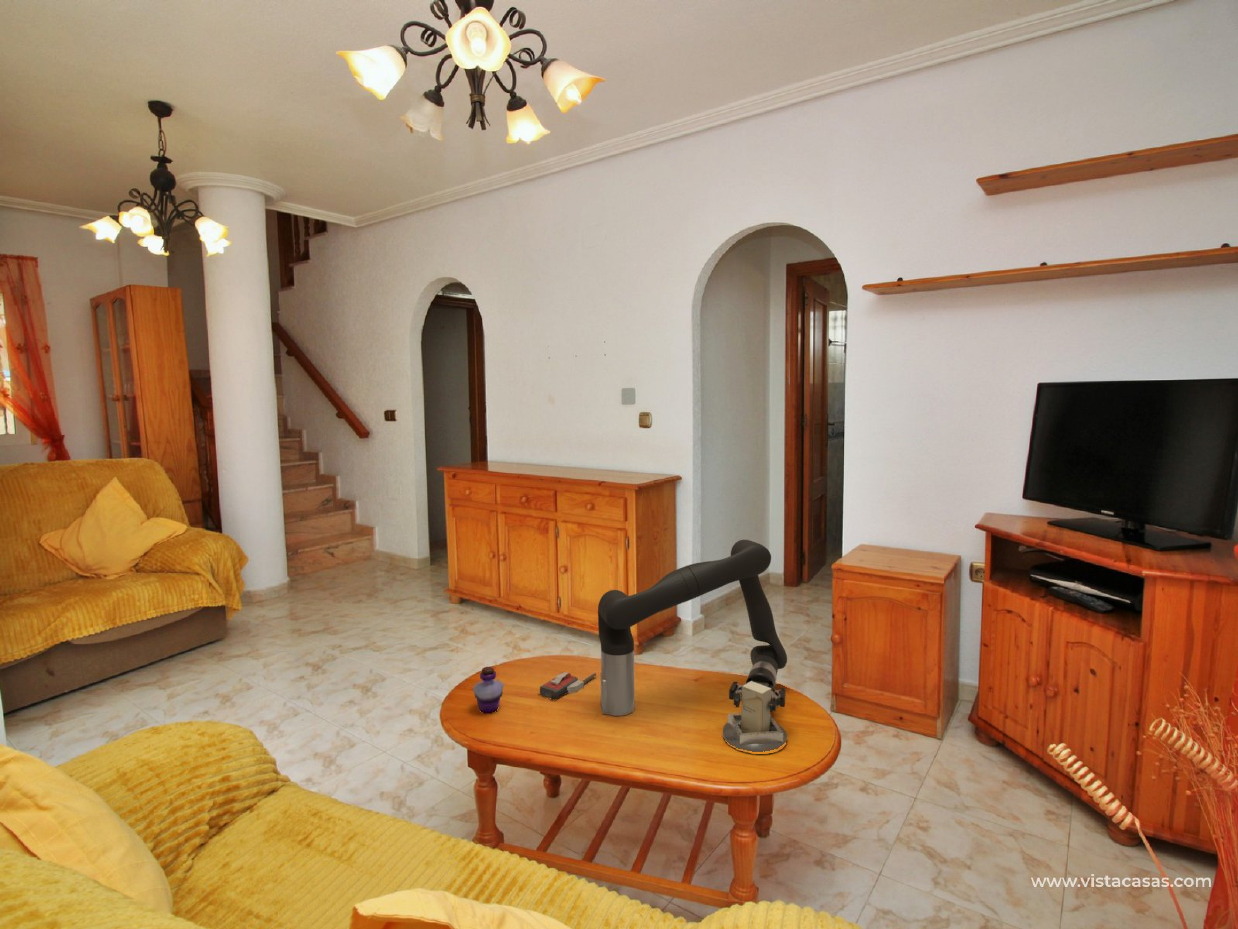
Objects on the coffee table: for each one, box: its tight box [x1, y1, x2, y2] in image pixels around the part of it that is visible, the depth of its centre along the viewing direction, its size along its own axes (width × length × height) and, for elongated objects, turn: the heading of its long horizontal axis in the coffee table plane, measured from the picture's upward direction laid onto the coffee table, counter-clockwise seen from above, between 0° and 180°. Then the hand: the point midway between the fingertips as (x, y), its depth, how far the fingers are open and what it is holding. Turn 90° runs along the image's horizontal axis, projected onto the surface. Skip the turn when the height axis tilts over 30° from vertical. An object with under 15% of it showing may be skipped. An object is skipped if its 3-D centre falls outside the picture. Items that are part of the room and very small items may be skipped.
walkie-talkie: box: [539, 671, 597, 701], centre depth 199 cm, size 9×4×20 cm
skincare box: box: [740, 681, 771, 733], centre depth 168 cm, size 6×4×12 cm
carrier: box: [722, 712, 788, 752], centre depth 168 cm, size 16×16×4 cm
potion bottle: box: [472, 666, 505, 714], centre depth 184 cm, size 9×9×12 cm
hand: (754, 706), depth 166 cm, fingers open, 8 cm apart
